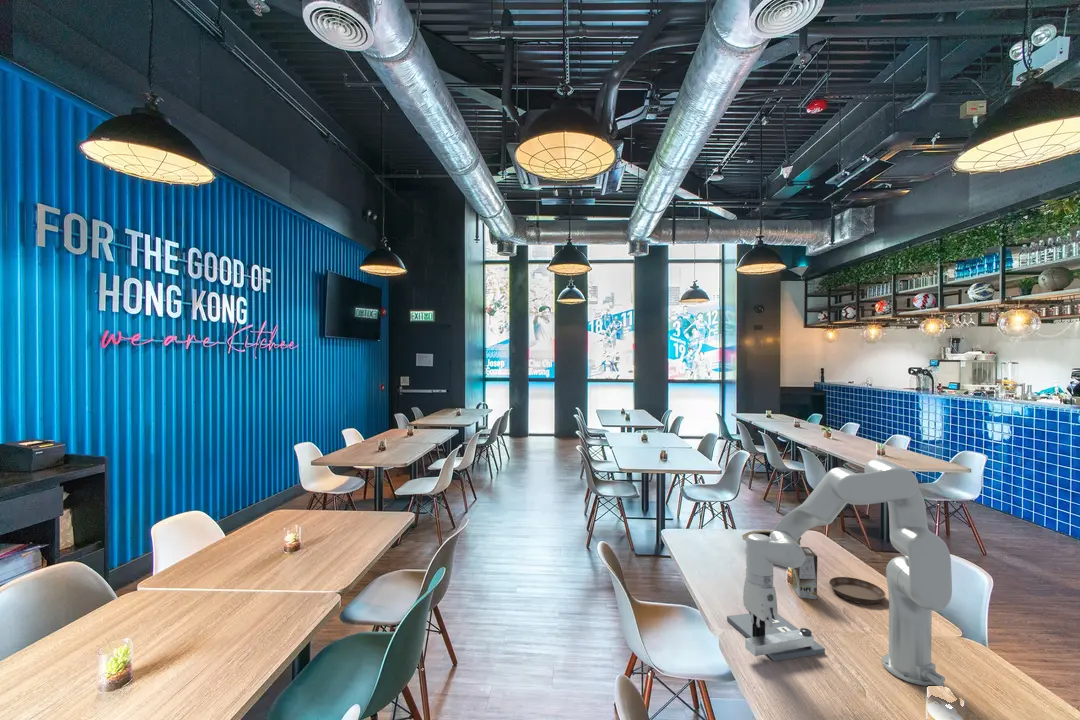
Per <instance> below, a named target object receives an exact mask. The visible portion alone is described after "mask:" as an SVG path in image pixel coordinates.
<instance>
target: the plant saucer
mask: <svg viewBox="0 0 1080 720" xmlns="http://www.w3.org/2000/svg"><path fill="white" fill-rule="evenodd" d="M828 583H829V586H830V587H831V588H832V590H833V591H834V592H835V593H836V594H837V595H838V596H839V597H841V598H843V599H846V600H849V601H851V602H855V603H859V604H864V605H874V603H875V604H877V603H880V602H881V601H882V600H883V599H884V598H886V592H885V591H884V590H883V588H881V587H880V586H878V585H876V584H875V583H872V582H869V581H867V580H863V579H860V578H855V577H849V576H835V577H832V578H830V579H829V580H828Z"/></svg>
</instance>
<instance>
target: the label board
mask: <svg viewBox="0 0 1080 720" xmlns="http://www.w3.org/2000/svg"><path fill="white" fill-rule="evenodd" d="M726 621H727V622H728V623H729V624H731V625H732V626H733V627H734V628H735V629H736V630H737V629H738V630H739V631H738V630H737V631H738V632H740V634H742V633H743V634H744V635H745V636H746V637H747V638H752V637H753V636H752V624H753V623H752V622H751V616H750V613H749V612H748V613H741V614H733V615H727V616H726ZM761 621H762V620H761ZM772 621H773V627H767V626H766V627H765V635H770V634H775V633H781V632H787V631H793V630H799V629H800V628H797V626H795V625H794V624H792V623H791V622H789V621H788V620H786V618H784V617H783V616H781V615H780V614H778V617H777V620H773V619H772ZM743 634H742V635H743ZM744 635H743V636H744ZM745 636H744V637H745ZM746 637H745V638H746ZM823 654H826V648H825V647H824V646H823V645H821V644H820V643H818V642H817V641H816V640H814V646H811V648H804V647H803V648H798V649H792V650H787V651H782V652H776V653H771V654H767V655H768V656H769V657H770V658H771V661H773V662H775V661H774V660H778V661H783V659H784V660H788V659H789V660H790V659H795V658H802V657H809V656H816V655H823ZM767 655H766V656H767ZM768 656H767V657H768ZM769 657H768V658H769ZM770 658H769V659H770Z"/></svg>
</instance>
